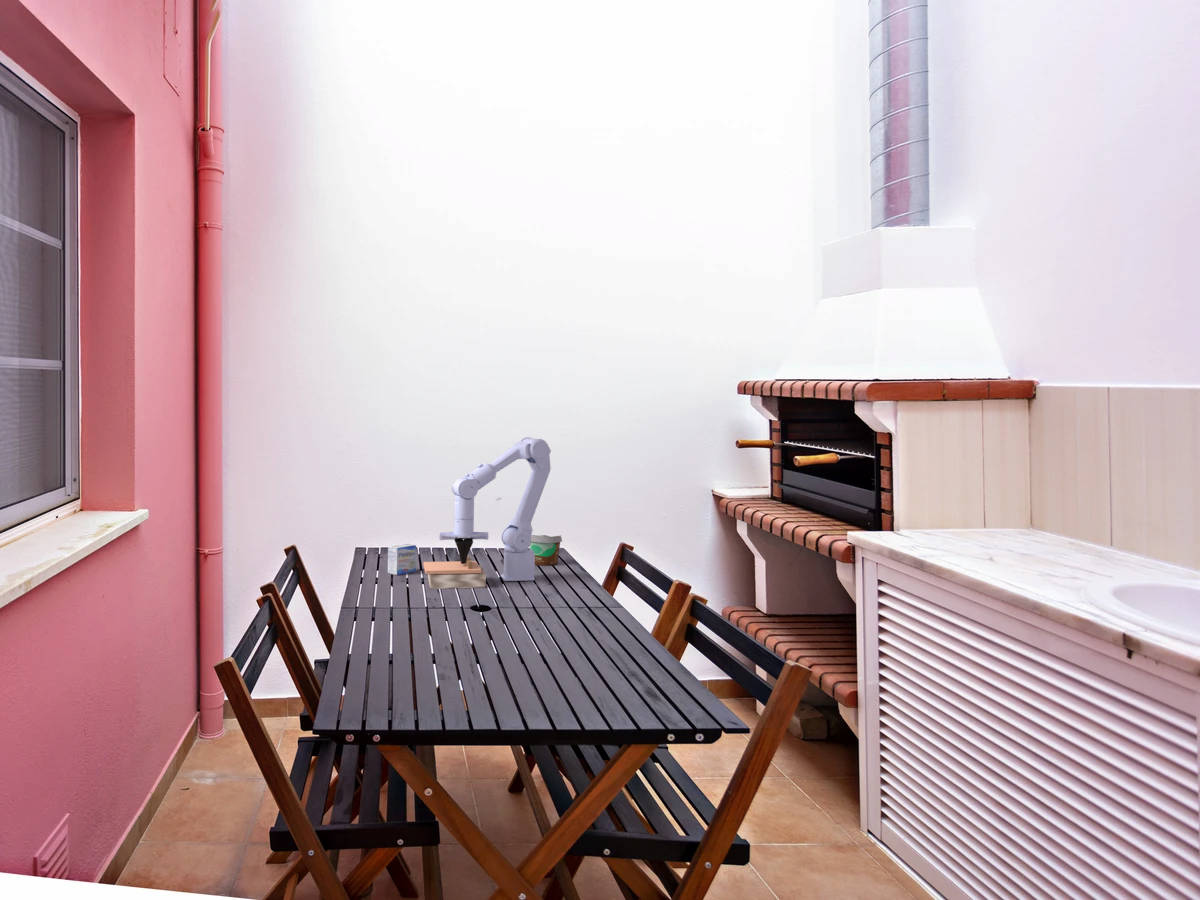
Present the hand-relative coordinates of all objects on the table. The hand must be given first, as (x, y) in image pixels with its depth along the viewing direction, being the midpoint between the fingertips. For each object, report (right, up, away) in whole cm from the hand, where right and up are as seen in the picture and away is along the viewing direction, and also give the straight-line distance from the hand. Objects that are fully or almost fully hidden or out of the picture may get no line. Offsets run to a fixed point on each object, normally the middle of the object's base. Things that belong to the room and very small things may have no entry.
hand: (463, 563), depth 264 cm
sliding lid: (-3, -2, -1) cm, 4 cm away
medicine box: (-21, -5, +12) cm, 25 cm away
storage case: (-2, -6, 0) cm, 6 cm away
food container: (+21, -5, +32) cm, 39 cm away
